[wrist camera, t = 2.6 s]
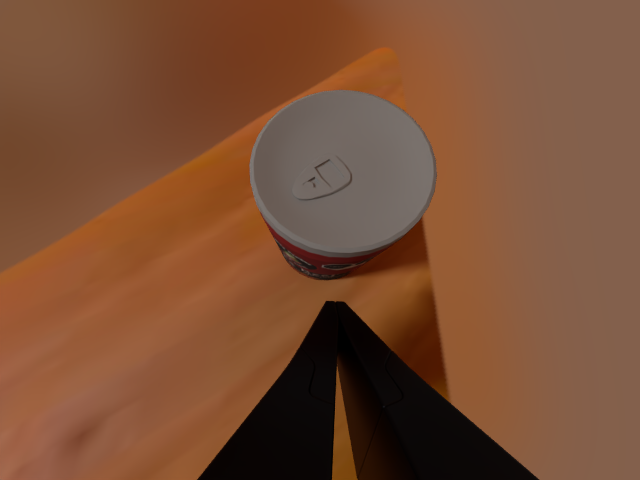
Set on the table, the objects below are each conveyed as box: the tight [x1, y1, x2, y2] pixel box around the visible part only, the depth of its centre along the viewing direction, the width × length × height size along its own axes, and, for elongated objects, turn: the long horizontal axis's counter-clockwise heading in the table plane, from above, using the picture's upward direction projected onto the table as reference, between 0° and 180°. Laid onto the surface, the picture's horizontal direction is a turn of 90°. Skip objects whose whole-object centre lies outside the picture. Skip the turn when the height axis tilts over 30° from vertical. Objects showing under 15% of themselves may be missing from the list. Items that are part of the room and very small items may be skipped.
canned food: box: [250, 90, 437, 280], centre depth 14 cm, size 8×8×11 cm
